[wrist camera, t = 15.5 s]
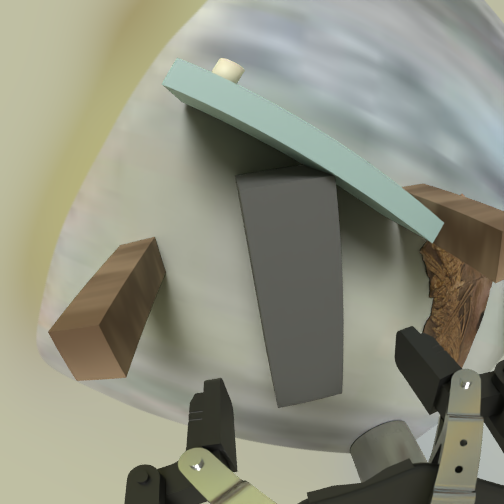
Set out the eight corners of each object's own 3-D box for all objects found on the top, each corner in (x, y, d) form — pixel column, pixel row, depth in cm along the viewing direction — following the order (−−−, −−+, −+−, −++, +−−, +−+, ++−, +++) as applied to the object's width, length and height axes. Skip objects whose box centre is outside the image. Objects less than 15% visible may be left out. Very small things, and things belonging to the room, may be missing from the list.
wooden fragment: (413, 209, 24) (420, 212, 23) (490, 182, 24) (497, 184, 23) (416, 394, 33) (419, 399, 32) (476, 360, 33) (480, 364, 32)
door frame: (424, 217, 24) (523, 270, 13) (132, 279, 24) (76, 380, 12) (423, 183, 23) (529, 222, 12) (120, 245, 23) (48, 332, 11)
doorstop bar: (235, 175, 22) (239, 190, 15) (302, 164, 22) (334, 175, 15) (266, 352, 27) (277, 407, 21) (319, 341, 27) (342, 393, 21)
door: (382, 215, 23) (432, 243, 16) (181, 102, 19) (161, 84, 12) (400, 183, 22) (454, 202, 16) (202, 65, 18) (192, 33, 12)
